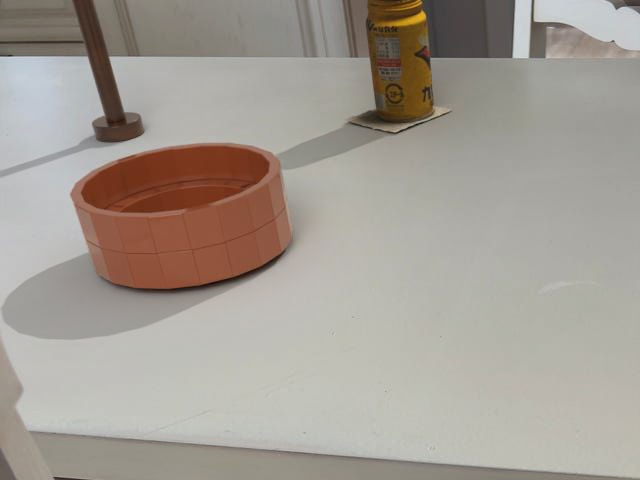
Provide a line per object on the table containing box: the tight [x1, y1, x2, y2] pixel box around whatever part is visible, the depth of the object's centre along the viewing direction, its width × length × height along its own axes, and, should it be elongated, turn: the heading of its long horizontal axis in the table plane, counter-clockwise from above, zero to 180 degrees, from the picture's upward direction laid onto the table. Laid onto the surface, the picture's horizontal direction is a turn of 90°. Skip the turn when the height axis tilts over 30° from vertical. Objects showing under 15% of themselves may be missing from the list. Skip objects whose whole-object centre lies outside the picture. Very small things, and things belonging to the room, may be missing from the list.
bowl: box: [69, 142, 294, 290], centre depth 79 cm, size 16×16×6 cm
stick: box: [71, 0, 145, 143], centre depth 101 cm, size 5×5×16 cm
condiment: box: [344, 0, 452, 133], centre depth 101 cm, size 7×8×12 cm
